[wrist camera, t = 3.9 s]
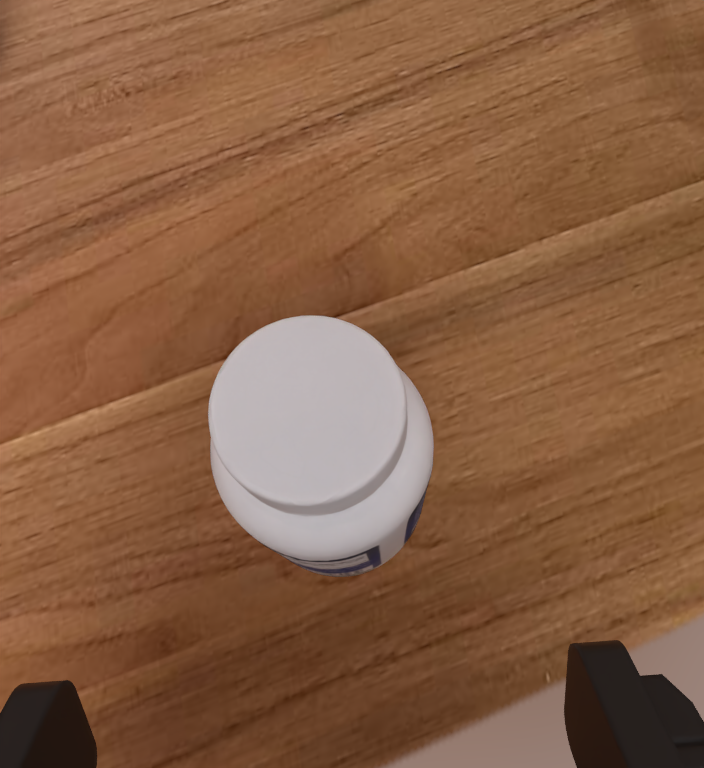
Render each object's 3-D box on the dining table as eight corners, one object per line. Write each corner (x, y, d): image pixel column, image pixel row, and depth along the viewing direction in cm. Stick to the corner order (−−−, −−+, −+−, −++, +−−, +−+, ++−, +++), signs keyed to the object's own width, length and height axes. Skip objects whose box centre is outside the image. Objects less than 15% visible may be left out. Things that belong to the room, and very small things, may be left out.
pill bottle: (348, 389, 23) (323, 236, 14) (454, 501, 21) (505, 410, 12) (230, 489, 22) (118, 395, 13) (332, 614, 20) (288, 608, 11)
